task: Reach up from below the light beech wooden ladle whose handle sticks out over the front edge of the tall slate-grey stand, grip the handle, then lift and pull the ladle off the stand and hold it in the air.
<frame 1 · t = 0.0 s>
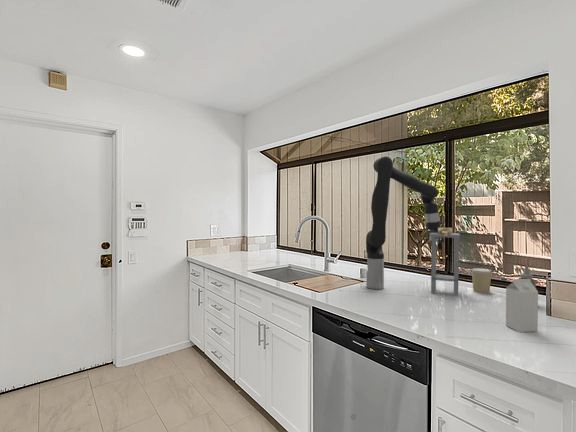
hand: (436, 248, 189), 22 cm above the worktop, tool pointing down, fingers open, 8 cm apart
milk carton: (521, 329, 124), on the worktop
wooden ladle: (445, 233, 177), point 32 cm above the worktop, touching grey stand
grey stand: (444, 292, 176), on the worktop
coffee cup: (481, 291, 178), on the worktop
squeeze bottle: (525, 304, 155), on the worktop
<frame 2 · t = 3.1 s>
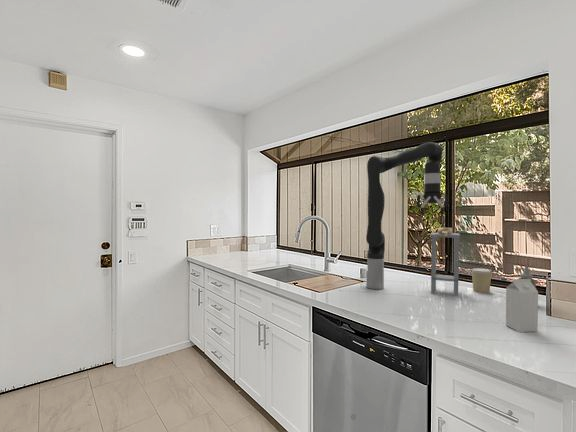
hand: (432, 215, 162), 42 cm above the worktop, tool pointing down, fingers open, 8 cm apart
nothing on the worktop moved.
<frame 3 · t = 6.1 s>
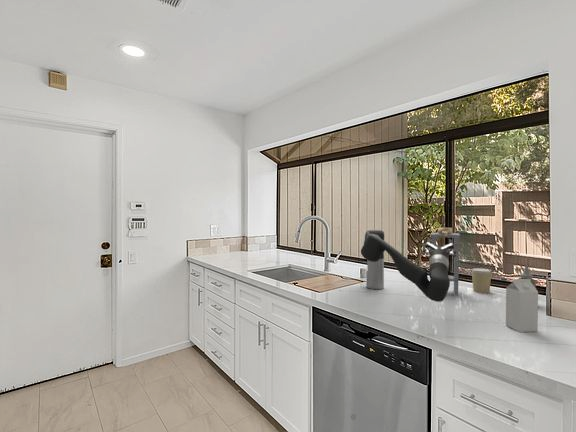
hand: (439, 240, 151), 31 cm above the worktop, tool pointing upward, fingers open, 8 cm apart
nothing on the worktop moved.
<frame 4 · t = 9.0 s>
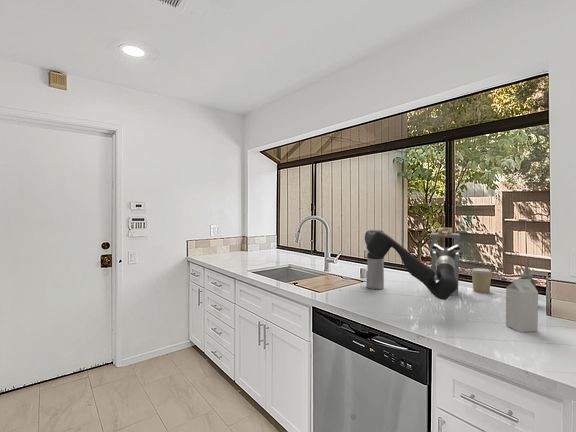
hand: (446, 241, 160), 29 cm above the worktop, tool pointing upward, fingers open, 8 cm apart
nothing on the worktop moved.
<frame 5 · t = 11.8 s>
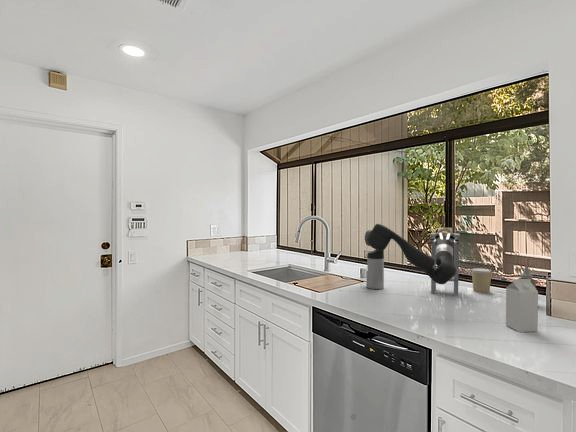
hand: (444, 230, 168), 34 cm above the worktop, tool pointing upward, fingers closed on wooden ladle, 2 cm apart
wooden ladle: (445, 233, 177), point 32 cm above the worktop, touching grey stand, gripper
everything else where it was.
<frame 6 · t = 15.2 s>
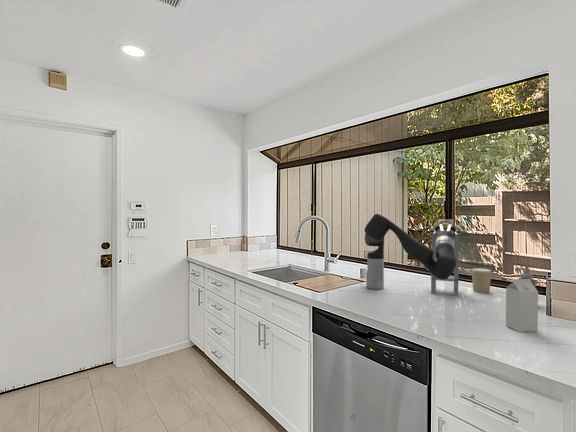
hand: (445, 222, 157), 39 cm above the worktop, tool pointing upward, fingers closed on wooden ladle, 2 cm apart
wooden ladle: (445, 225, 166), point 37 cm above the worktop, touching gripper
everything else where it was.
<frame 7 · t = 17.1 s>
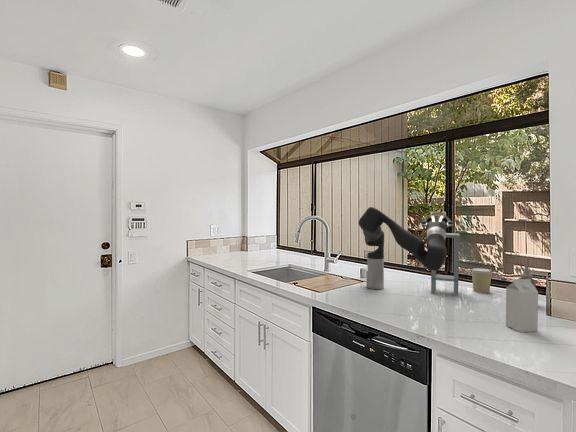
hand: (437, 213, 155), 43 cm above the worktop, tool pointing upward, fingers closed on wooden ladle, 2 cm apart
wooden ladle: (438, 217, 163), point 41 cm above the worktop, touching gripper
everything else where it was.
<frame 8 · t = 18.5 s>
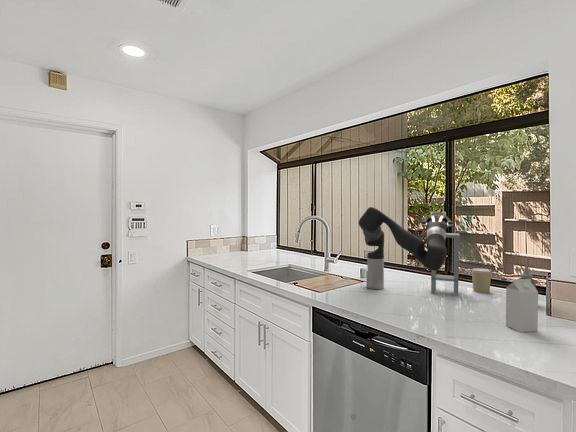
hand: (437, 213, 155), 43 cm above the worktop, tool pointing upward, fingers closed on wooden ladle, 2 cm apart
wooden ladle: (438, 217, 163), point 41 cm above the worktop, touching gripper
everything else where it was.
at the end: the gripper is holding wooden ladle; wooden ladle touching gripper; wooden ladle moved 19.1 cm from its start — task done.
